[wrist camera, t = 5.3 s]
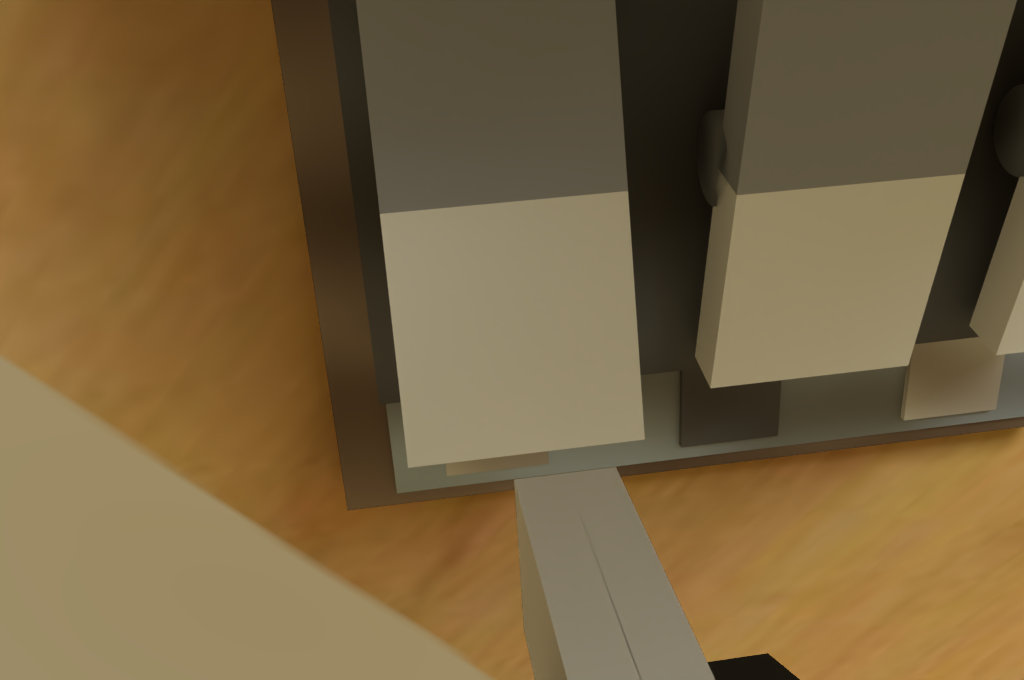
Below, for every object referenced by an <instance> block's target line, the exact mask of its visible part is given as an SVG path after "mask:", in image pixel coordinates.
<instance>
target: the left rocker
mask: <svg viewBox="0 0 1024 680" xmlns="http://www.w3.org/2000/svg"><path fill="white" fill-rule="evenodd" d="M356 5H357V14H358V23H359V32H360V41H361V50H362V59H363V68H364V77H365V86H366V95H367V103H368V112H369V121H370V130H371V139H372V148H373V157H374V166H375V175H376V184H377V193H378V202H379V211H380V220H381V229H382V238H383V247H384V256H385V265H386V274H387V283H388V292H389V301H390V310H391V319H392V328H393V337H394V346H395V355H396V364H397V373H398V382H399V391H400V400H401V409H402V418H403V427H404V436H405V445H406V454H407V463H408V468H412V467H420V466H428V465H437V464H445V463H453V462H462V461H470V460H478V459H487V458H495V457H503V456H512V455H520V454H528V453H537V452H545V451H553V450H562V449H570V448H578V447H587V446H595V445H603V444H612V443H620V442H628V441H637V440H645V435H644V420H643V405H642V391H641V376H640V361H639V346H638V331H637V317H636V302H635V287H634V272H633V257H632V243H631V228H630V213H629V198H628V183H627V169H626V154H625V139H624V124H623V110H622V95H621V80H620V65H619V50H618V36H617V21H616V6H615V0H356Z"/></svg>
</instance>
